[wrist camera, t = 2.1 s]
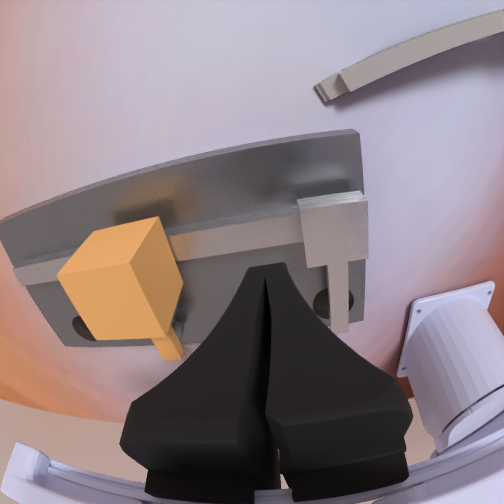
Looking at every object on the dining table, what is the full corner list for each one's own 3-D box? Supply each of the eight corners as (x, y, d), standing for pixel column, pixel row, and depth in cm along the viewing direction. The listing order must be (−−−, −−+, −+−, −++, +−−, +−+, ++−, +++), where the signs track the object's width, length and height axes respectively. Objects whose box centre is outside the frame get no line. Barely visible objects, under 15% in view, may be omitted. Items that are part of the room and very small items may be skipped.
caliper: (535, -3, 7) (595, -1, 1) (541, 10, 7) (601, 15, 2) (312, 85, 13) (346, 87, 8) (324, 103, 14) (363, 117, 8)
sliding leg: (209, 328, 19) (198, 392, 15) (154, 333, 20) (135, 391, 16) (163, 208, 15) (129, 262, 11) (100, 223, 15) (56, 275, 11)
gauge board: (359, 308, 20) (371, 344, 17) (70, 336, 23) (55, 364, 20) (352, 128, 14) (375, 142, 11) (3, 218, 17) (-25, 241, 14)
